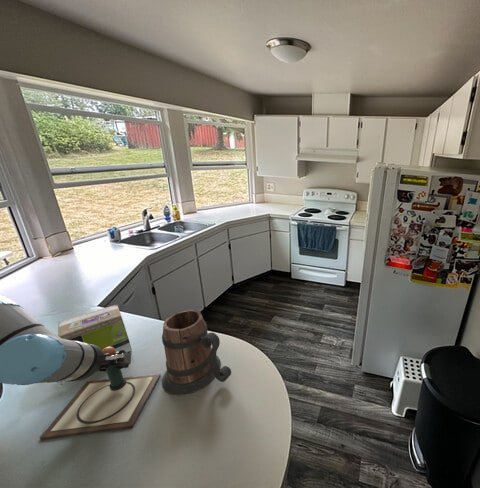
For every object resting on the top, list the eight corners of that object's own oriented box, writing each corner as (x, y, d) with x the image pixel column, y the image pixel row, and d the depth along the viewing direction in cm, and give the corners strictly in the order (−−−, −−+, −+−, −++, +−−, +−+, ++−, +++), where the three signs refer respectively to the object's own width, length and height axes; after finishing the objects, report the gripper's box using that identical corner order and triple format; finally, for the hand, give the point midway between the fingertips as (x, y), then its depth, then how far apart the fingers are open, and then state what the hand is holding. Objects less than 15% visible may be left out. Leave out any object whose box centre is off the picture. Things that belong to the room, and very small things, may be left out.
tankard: (148, 383, 75) (133, 329, 69) (194, 346, 90) (185, 298, 84) (208, 412, 68) (199, 354, 61) (248, 366, 83) (243, 315, 76)
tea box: (127, 336, 94) (117, 303, 89) (132, 351, 87) (122, 315, 82) (72, 357, 84) (57, 320, 79) (72, 375, 77) (57, 336, 72)
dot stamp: (107, 391, 69) (94, 354, 64) (115, 380, 72) (103, 344, 68) (121, 390, 69) (109, 352, 65) (129, 379, 72) (118, 342, 68)
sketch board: (40, 440, 60) (38, 436, 60) (87, 383, 75) (86, 380, 74) (132, 427, 63) (131, 424, 63) (160, 375, 78) (160, 372, 78)
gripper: (17, 393, 48) (83, 386, 68) (117, 370, 54) (151, 370, 74) (26, 352, 51) (87, 357, 71) (120, 334, 57) (152, 344, 77)
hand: (119, 364), depth 73 cm, fingers closed on dot stamp, 3 cm apart
